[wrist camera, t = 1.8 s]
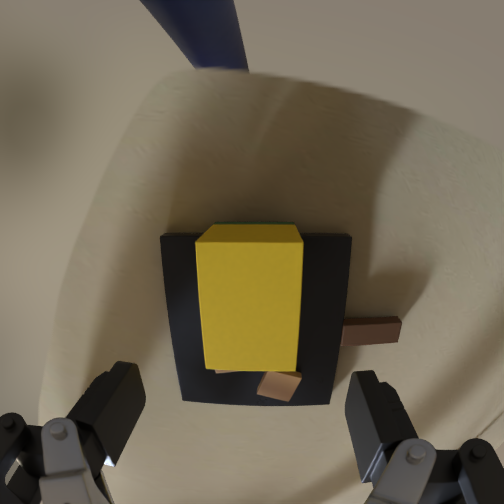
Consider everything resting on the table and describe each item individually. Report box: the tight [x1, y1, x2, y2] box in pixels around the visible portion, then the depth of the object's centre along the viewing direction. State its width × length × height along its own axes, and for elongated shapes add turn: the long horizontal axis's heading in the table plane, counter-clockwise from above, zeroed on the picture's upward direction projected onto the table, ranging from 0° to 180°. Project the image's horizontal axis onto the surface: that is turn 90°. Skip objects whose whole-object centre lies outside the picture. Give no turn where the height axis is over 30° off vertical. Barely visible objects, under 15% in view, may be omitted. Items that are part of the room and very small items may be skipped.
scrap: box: [257, 371, 302, 402], centre depth 24 cm, size 3×3×1 cm
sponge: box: [195, 222, 304, 371], centre depth 19 cm, size 8×6×6 cm
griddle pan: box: [160, 233, 402, 406], centre depth 23 cm, size 16×19×2 cm
